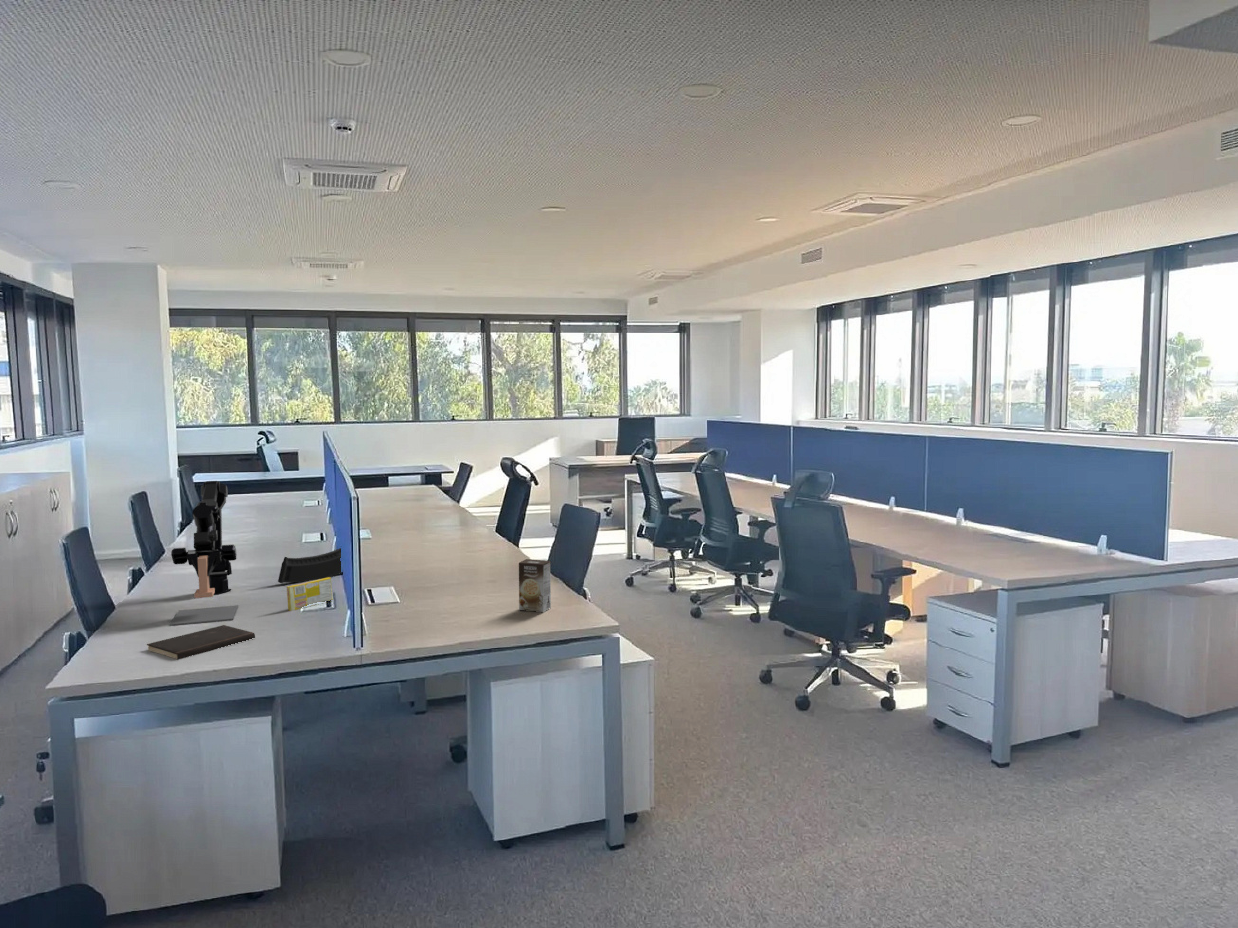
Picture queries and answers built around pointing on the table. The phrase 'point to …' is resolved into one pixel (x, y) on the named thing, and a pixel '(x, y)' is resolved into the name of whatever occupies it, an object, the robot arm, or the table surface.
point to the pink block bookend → (203, 579)
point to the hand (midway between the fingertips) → (203, 575)
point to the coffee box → (534, 585)
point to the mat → (204, 615)
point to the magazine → (310, 567)
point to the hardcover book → (200, 641)
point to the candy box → (309, 593)
